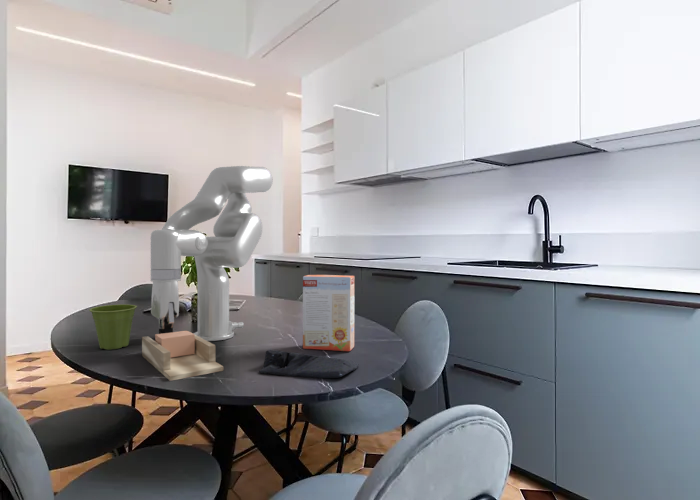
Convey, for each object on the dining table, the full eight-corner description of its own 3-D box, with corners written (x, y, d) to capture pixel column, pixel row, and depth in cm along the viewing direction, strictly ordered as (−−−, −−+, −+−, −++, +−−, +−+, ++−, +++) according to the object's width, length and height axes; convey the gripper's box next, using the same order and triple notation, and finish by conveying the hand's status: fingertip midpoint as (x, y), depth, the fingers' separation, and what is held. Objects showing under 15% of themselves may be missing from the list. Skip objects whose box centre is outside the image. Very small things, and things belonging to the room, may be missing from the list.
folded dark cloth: (341, 386, 91) (341, 364, 91) (252, 375, 98) (252, 354, 98) (363, 367, 105) (363, 347, 105) (284, 357, 113) (284, 340, 113)
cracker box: (354, 347, 123) (355, 275, 122) (350, 352, 117) (350, 276, 116) (308, 344, 126) (309, 273, 125) (301, 349, 120) (302, 275, 119)
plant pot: (83, 346, 120) (83, 307, 120) (128, 339, 129) (128, 303, 129) (97, 354, 112) (97, 312, 112) (143, 346, 121) (143, 307, 121)
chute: (188, 348, 119) (188, 331, 119) (223, 370, 100) (223, 349, 100) (142, 355, 112) (142, 337, 112) (170, 380, 92) (170, 358, 92)
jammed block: (187, 349, 114) (187, 330, 114) (194, 353, 109) (194, 334, 109) (155, 353, 109) (155, 334, 109) (161, 359, 104) (161, 338, 104)
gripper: (144, 274, 118) (144, 339, 119) (158, 278, 107) (158, 350, 107) (172, 273, 123) (172, 336, 123) (189, 276, 111) (188, 346, 112)
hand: (165, 342), depth 115 cm, fingers closed
